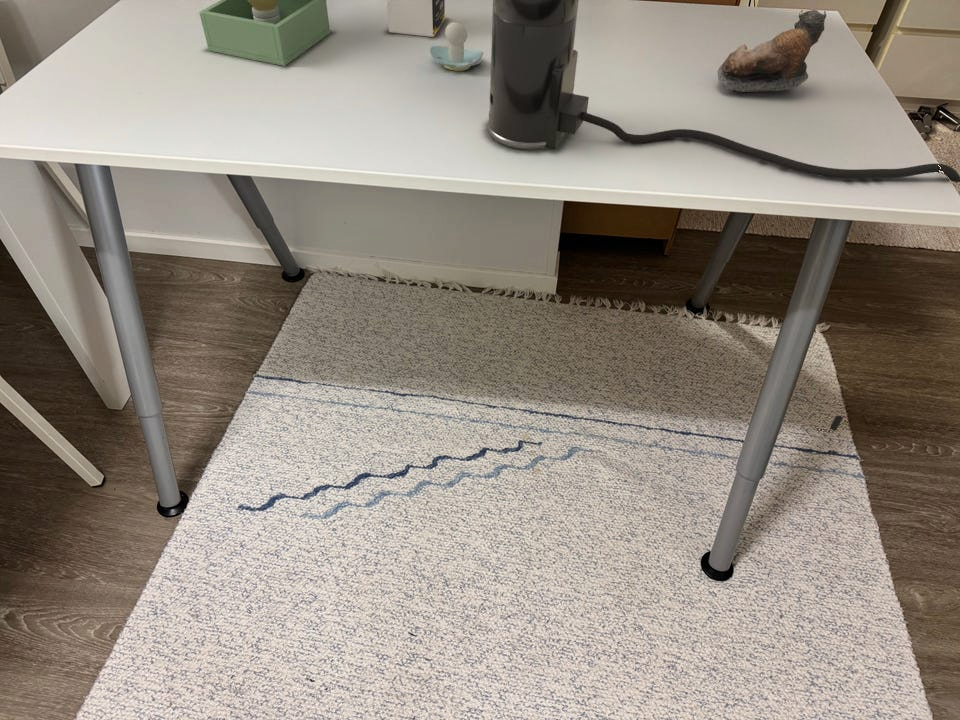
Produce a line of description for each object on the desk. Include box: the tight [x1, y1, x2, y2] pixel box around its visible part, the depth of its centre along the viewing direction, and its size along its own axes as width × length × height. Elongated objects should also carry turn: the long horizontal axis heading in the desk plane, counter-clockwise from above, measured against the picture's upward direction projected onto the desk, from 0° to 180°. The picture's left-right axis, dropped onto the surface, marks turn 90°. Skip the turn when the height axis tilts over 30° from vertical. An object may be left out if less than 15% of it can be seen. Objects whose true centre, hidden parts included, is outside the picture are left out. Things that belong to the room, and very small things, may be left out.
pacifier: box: [429, 21, 484, 72], centre depth 100 cm, size 7×6×6 cm
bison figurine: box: [717, 9, 827, 93], centre depth 95 cm, size 12×7×10 cm, turn 93°
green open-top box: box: [198, 0, 331, 67], centre depth 104 cm, size 13×13×5 cm
